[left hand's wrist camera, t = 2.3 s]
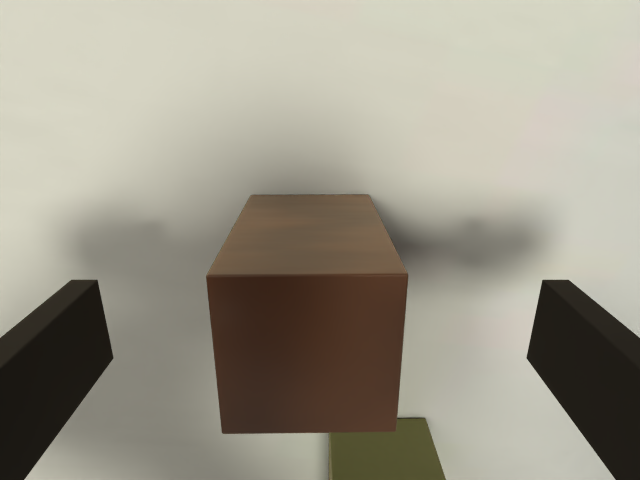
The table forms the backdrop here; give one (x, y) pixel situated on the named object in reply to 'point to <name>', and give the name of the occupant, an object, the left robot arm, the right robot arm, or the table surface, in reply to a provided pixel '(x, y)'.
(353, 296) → the walnut block
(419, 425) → the olive block
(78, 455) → the table surface
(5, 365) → the left robot arm
